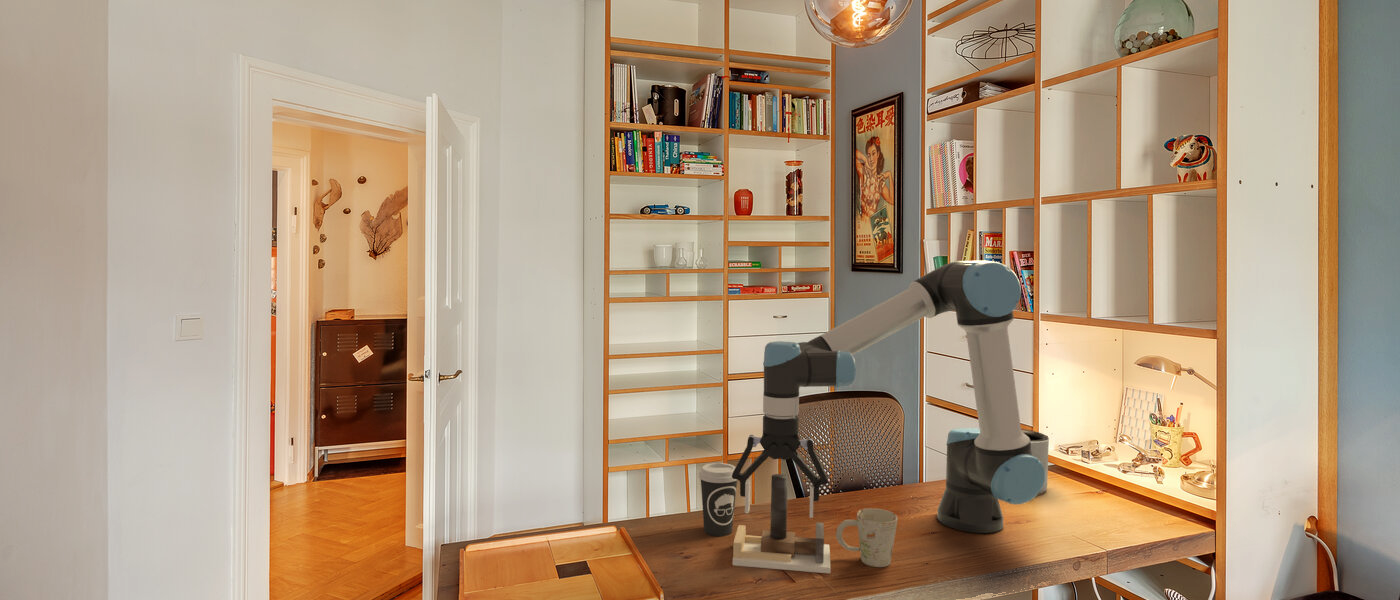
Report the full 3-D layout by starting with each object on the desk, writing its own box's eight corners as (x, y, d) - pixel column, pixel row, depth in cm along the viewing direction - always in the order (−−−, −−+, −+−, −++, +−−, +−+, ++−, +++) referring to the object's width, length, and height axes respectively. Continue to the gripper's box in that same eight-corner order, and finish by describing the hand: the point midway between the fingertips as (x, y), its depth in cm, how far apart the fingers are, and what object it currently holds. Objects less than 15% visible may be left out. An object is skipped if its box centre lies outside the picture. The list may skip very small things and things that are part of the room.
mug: (897, 571, 144) (898, 523, 143) (835, 565, 146) (836, 518, 146) (894, 555, 152) (895, 510, 151) (835, 549, 154) (836, 505, 154)
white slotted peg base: (829, 549, 154) (829, 530, 154) (830, 573, 142) (830, 552, 142) (738, 542, 157) (739, 523, 157) (732, 565, 146) (732, 544, 145)
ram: (822, 545, 153) (824, 473, 152) (823, 562, 144) (825, 486, 143) (763, 540, 155) (764, 469, 154) (760, 557, 146) (761, 481, 145)
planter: (1042, 501, 189) (1045, 444, 188) (980, 489, 198) (982, 435, 197) (1050, 485, 202) (1052, 432, 201) (991, 475, 211) (993, 424, 210)
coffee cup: (743, 526, 167) (744, 464, 166) (731, 541, 158) (733, 475, 157) (705, 521, 170) (706, 460, 169) (691, 535, 161) (692, 471, 160)
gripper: (840, 413, 150) (837, 511, 151) (724, 408, 154) (723, 503, 155) (841, 421, 143) (839, 524, 144) (720, 416, 147) (718, 515, 148)
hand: (779, 513), depth 150 cm, fingers open, 13 cm apart
